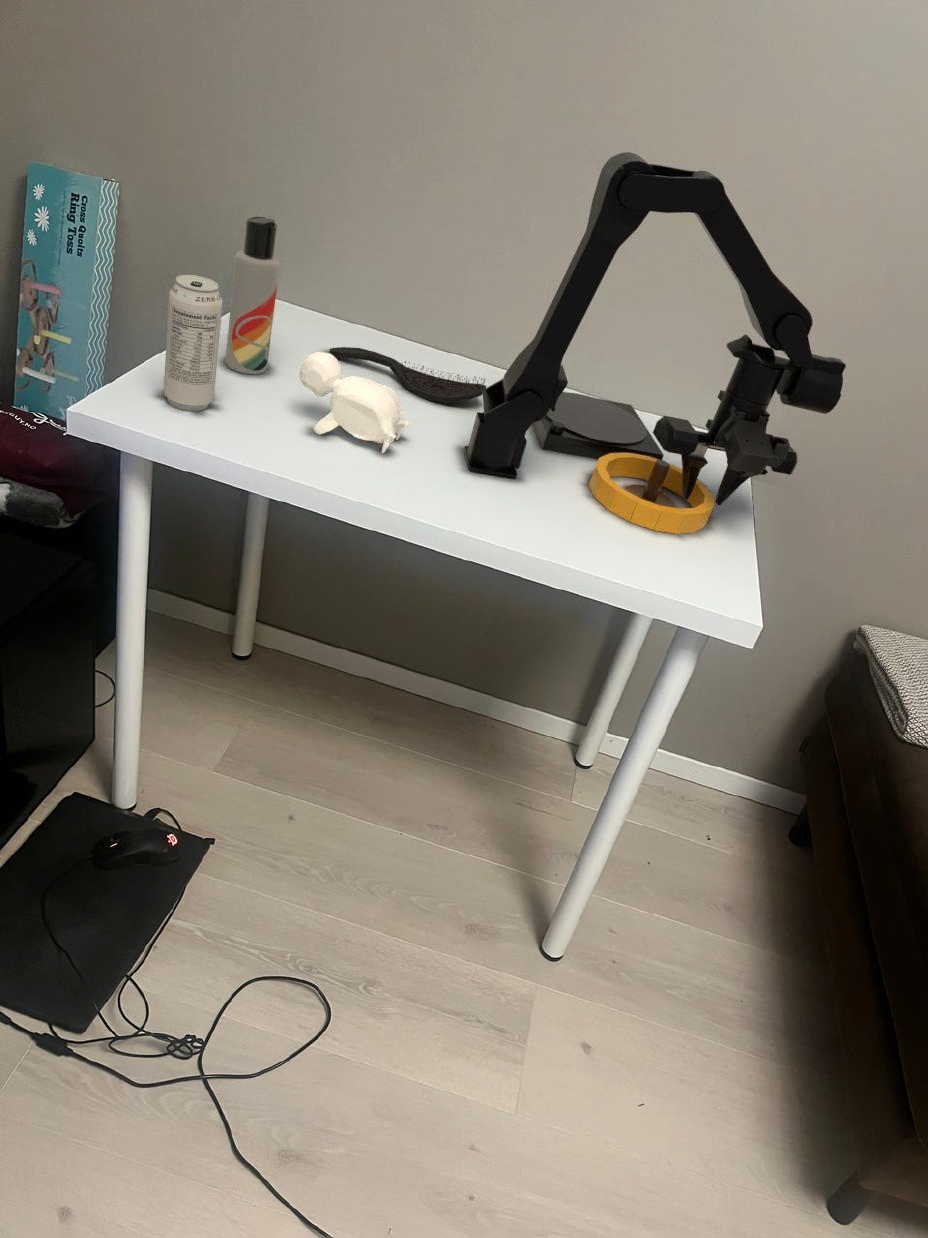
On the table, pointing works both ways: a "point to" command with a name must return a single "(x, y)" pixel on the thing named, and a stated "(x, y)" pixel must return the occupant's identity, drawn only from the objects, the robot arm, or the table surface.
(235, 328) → the lotion bottle
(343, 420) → the white turtle figurine
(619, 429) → the hot plate
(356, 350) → the hairbrush
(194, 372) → the energy drink can
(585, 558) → the table surface
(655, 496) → the peg
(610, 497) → the ring
